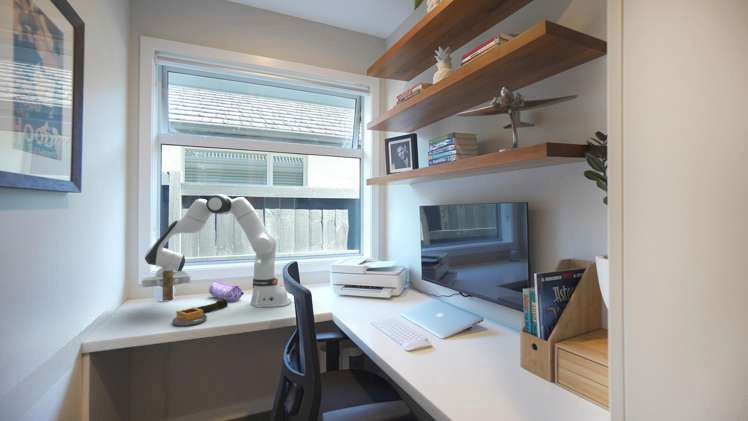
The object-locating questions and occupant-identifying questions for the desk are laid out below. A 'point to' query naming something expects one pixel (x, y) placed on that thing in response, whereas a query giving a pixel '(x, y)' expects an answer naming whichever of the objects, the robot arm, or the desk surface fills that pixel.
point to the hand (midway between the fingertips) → (167, 283)
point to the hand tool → (214, 305)
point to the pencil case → (225, 291)
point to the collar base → (189, 317)
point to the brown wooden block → (167, 285)
